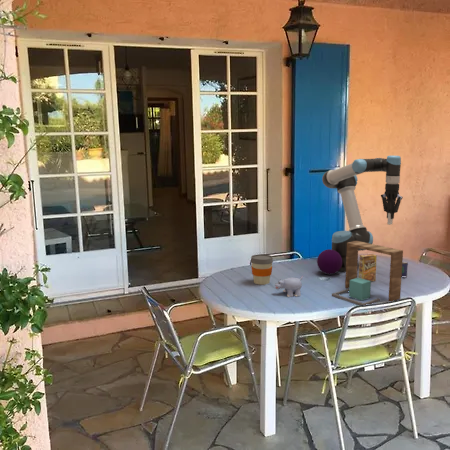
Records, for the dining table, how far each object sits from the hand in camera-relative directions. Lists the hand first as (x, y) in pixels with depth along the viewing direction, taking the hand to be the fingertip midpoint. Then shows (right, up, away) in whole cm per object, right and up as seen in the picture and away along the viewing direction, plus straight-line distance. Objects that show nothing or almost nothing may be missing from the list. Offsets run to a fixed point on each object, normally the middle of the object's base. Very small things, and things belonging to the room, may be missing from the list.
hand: (389, 224), depth 282 cm
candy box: (-13, -33, +2) cm, 35 cm away
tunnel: (-16, -37, -20) cm, 45 cm away
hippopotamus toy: (-60, -37, -19) cm, 74 cm away
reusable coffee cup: (-74, -34, +1) cm, 81 cm away
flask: (+8, -31, +9) cm, 33 cm away
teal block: (-25, -38, -26) cm, 52 cm away
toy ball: (-31, -30, +16) cm, 46 cm away
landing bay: (-27, -38, -27) cm, 54 cm away
